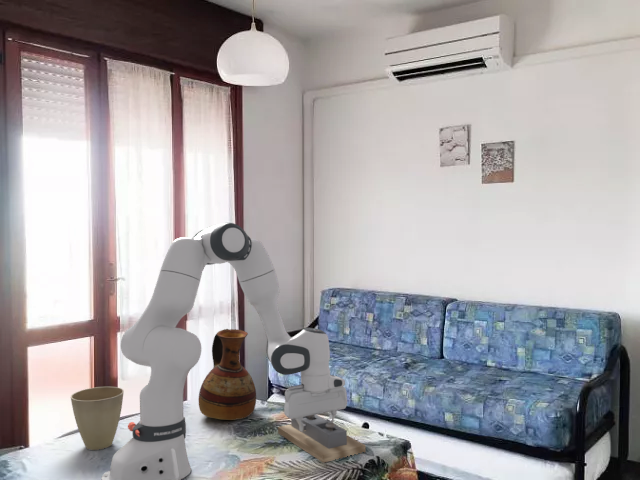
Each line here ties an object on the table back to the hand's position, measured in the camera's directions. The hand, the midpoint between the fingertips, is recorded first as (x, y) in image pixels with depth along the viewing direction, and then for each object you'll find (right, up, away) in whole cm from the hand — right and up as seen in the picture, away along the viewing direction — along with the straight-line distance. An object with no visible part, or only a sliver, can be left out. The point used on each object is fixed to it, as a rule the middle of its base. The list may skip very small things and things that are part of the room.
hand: (316, 427), depth 178 cm
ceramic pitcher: (-31, -4, +25) cm, 40 cm away
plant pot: (-65, -6, 0) cm, 66 cm away
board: (+1, -4, -1) cm, 4 cm away
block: (0, -2, -1) cm, 2 cm away
